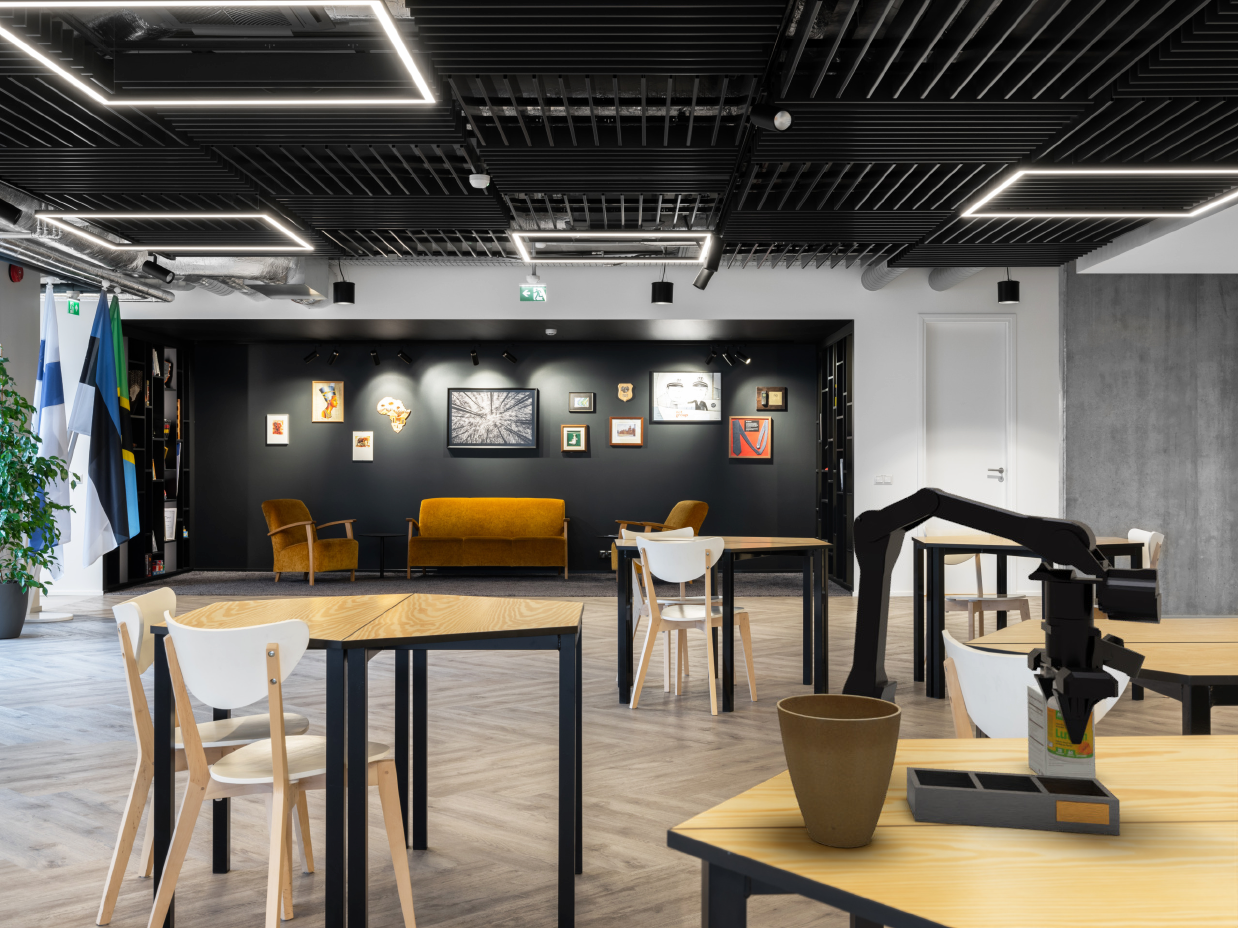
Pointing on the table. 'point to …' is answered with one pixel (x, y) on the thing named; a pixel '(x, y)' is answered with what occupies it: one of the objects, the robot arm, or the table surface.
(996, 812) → the compartment organizer tray
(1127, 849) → the table surface
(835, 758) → the plant pot
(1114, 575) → the robot arm
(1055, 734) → the supplement bottle
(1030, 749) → the supplement box
